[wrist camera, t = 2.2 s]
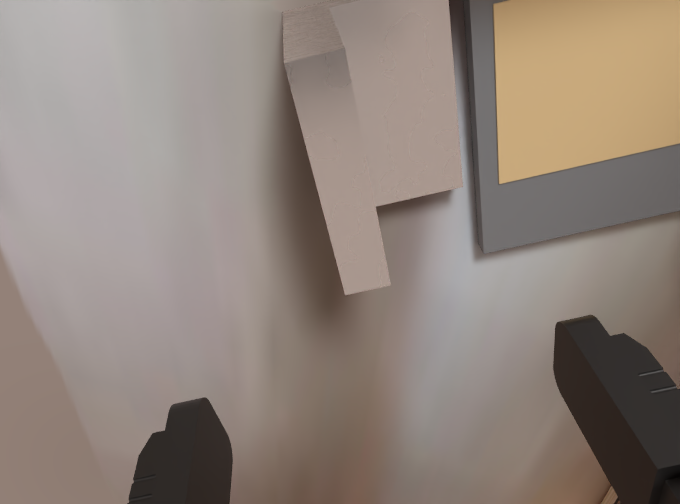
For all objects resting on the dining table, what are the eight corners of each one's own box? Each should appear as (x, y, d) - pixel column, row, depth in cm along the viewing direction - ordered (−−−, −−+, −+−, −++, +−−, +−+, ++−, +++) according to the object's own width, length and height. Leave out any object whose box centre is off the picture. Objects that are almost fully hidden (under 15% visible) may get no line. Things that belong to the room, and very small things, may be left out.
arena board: (881, -287, 19) (911, -295, 18) (747, 184, 31) (761, 193, 30) (452, -177, 20) (460, -180, 19) (478, 244, 32) (484, 254, 31)
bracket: (282, 11, 23) (283, 62, 17) (438, -27, 23) (500, 10, 17) (330, 202, 29) (345, 295, 23) (455, 173, 29) (506, 259, 22)
